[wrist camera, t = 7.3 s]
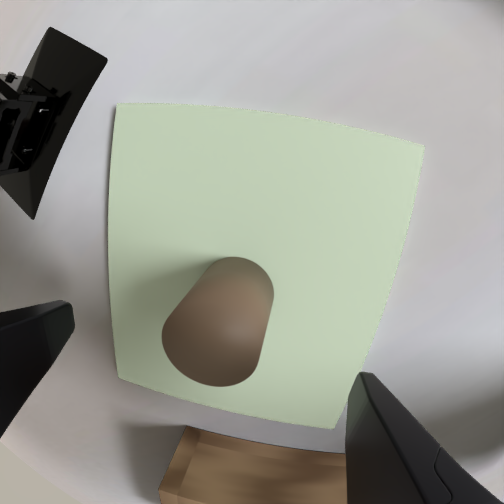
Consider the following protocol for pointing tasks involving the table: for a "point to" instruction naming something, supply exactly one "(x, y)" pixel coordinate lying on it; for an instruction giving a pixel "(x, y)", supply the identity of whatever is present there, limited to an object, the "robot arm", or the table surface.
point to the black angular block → (42, 113)
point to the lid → (252, 254)
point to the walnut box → (250, 473)
